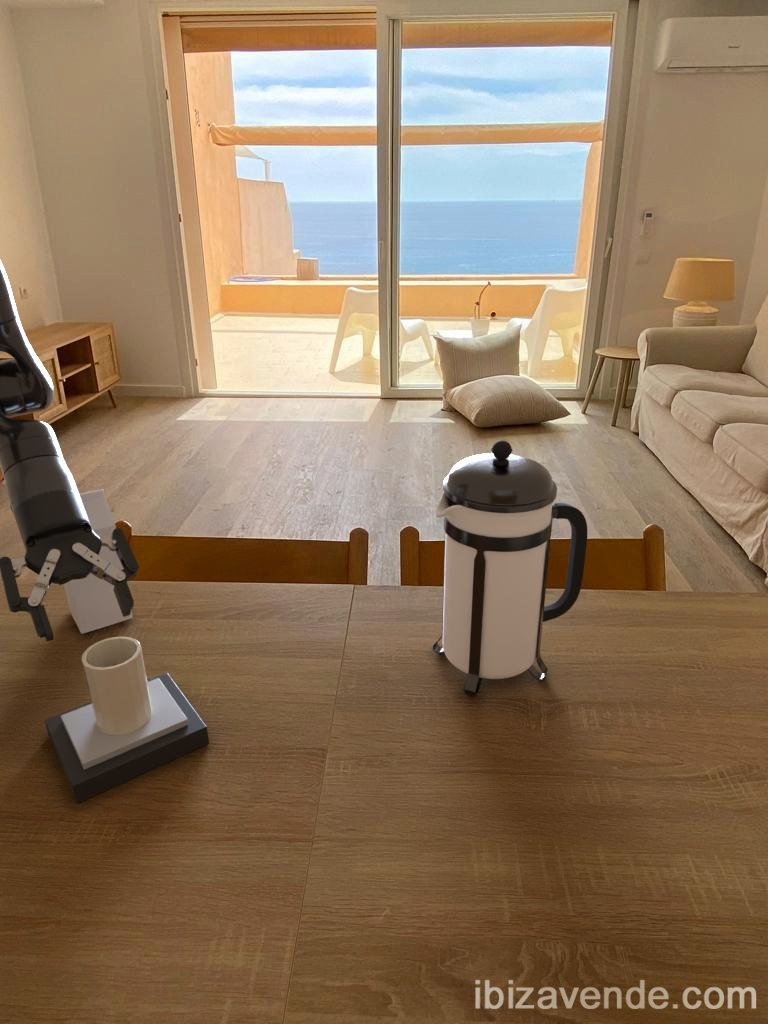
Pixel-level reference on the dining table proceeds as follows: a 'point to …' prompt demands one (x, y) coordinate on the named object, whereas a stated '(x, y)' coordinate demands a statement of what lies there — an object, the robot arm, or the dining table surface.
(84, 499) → the milk carton
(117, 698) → the cup
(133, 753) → the scale
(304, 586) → the dining table surface
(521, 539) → the coffee press
